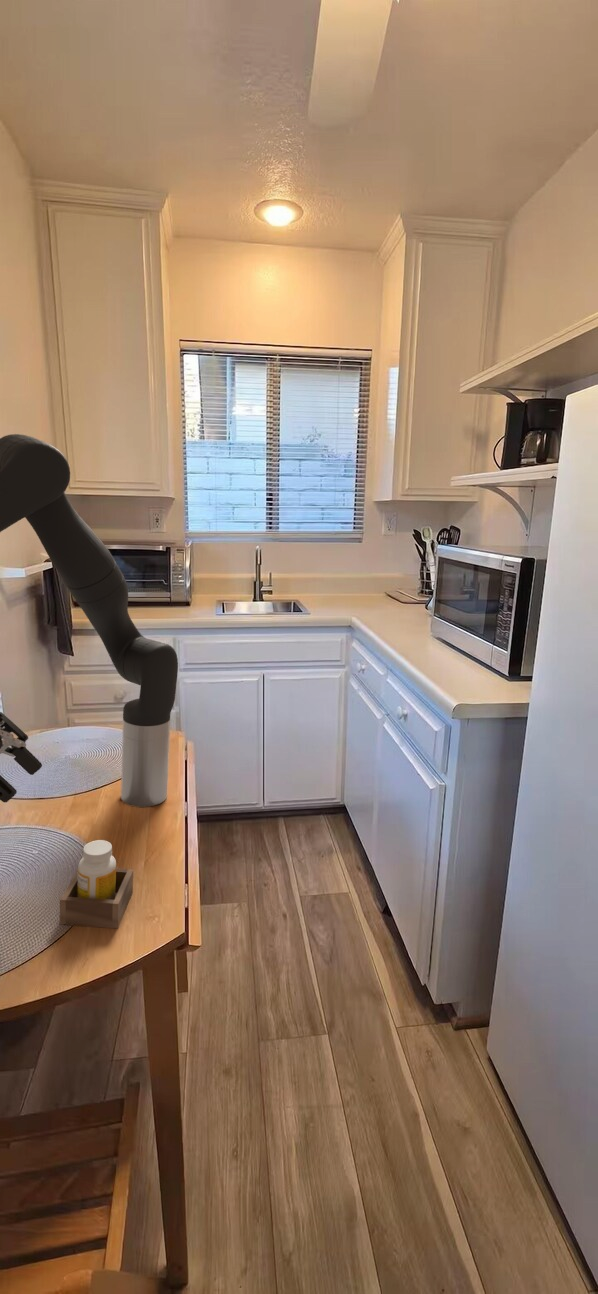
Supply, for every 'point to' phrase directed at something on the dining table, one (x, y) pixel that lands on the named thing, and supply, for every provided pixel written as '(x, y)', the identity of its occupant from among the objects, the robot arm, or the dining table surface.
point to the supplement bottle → (97, 871)
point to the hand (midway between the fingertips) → (25, 783)
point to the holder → (97, 904)
